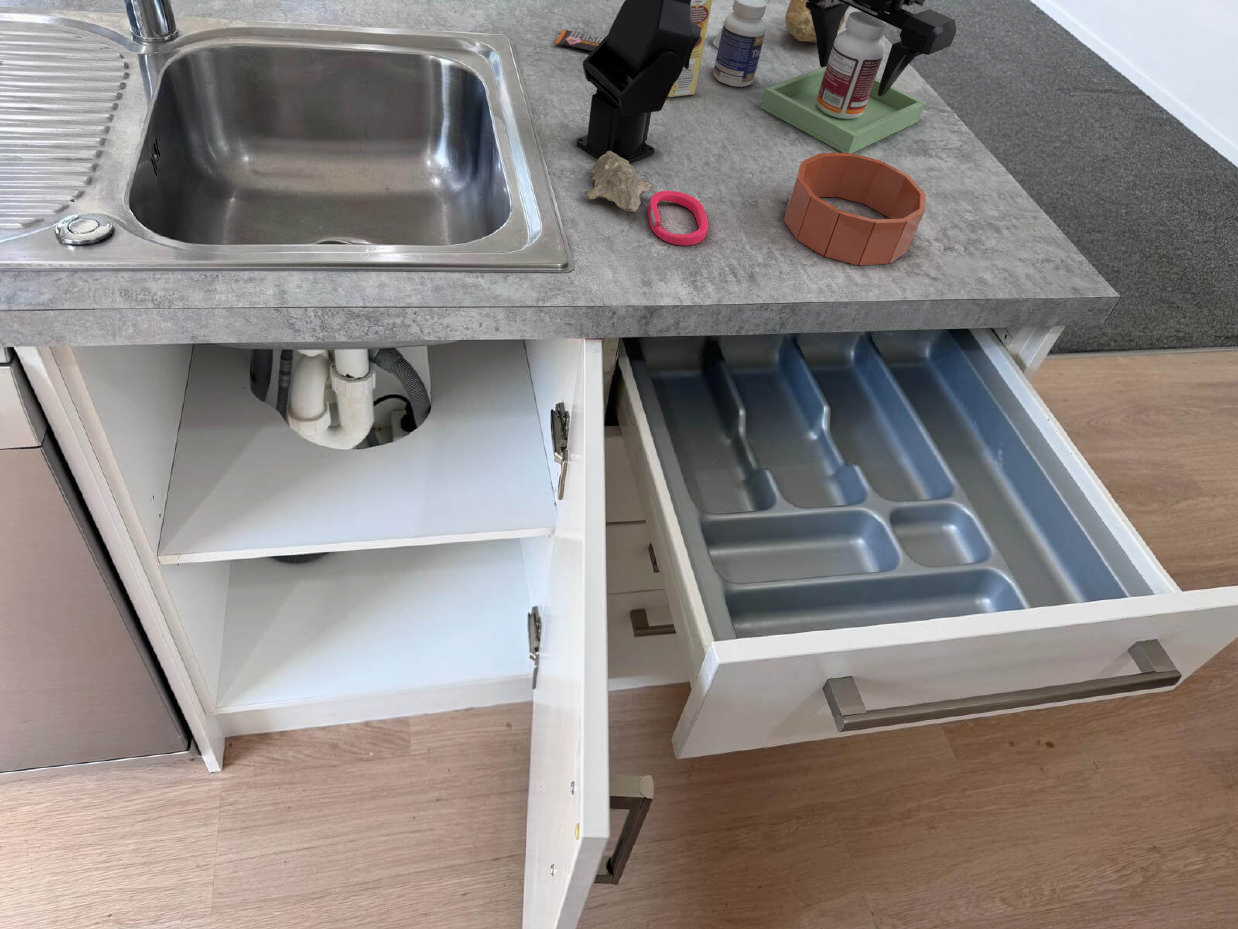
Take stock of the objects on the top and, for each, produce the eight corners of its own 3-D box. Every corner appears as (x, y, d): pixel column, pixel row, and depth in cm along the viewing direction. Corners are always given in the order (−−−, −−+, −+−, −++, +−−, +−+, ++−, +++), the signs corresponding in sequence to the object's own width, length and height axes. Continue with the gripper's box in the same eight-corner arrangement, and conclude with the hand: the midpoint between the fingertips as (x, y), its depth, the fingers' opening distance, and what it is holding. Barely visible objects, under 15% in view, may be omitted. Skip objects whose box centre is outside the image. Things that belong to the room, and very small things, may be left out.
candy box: (695, 96, 110) (722, -38, 99) (666, 98, 109) (690, -37, 97) (663, 64, 115) (685, -66, 104) (634, 66, 114) (653, -66, 102)
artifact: (665, 219, 89) (639, 169, 96) (667, 191, 87) (640, 143, 93) (595, 227, 88) (573, 176, 94) (595, 199, 86) (573, 149, 92)
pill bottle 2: (858, 102, 114) (889, 13, 106) (865, 124, 110) (899, 33, 102) (811, 94, 114) (839, 4, 106) (817, 116, 110) (847, 24, 102)
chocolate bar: (553, 45, 114) (554, 39, 114) (562, 31, 118) (563, 25, 117) (636, 64, 114) (637, 58, 113) (642, 49, 117) (643, 43, 117)
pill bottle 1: (751, 91, 113) (770, 12, 106) (710, 82, 113) (727, 2, 106) (754, 74, 117) (774, -3, 110) (715, 65, 117) (732, -13, 110)
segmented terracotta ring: (862, 280, 87) (880, 237, 84) (760, 217, 93) (773, 174, 89) (929, 238, 95) (949, 196, 91) (831, 182, 100) (845, 140, 96)
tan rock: (807, 54, 135) (770, 16, 133) (847, 9, 132) (809, -31, 130) (817, 60, 123) (776, 18, 121) (862, 10, 120) (820, -34, 118)
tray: (847, 155, 105) (854, 135, 103) (759, 107, 110) (764, 88, 109) (918, 121, 114) (926, 102, 112) (834, 78, 120) (840, 60, 118)
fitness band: (656, 231, 86) (652, 244, 87) (713, 237, 87) (709, 250, 88) (646, 186, 91) (644, 199, 92) (701, 192, 92) (697, 205, 93)
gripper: (1005, -40, 98) (948, 97, 110) (868, -95, 106) (828, 38, 117) (956, -24, 92) (901, 118, 104) (815, -84, 100) (778, 55, 111)
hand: (851, 80), depth 109 cm, fingers open, 8 cm apart
